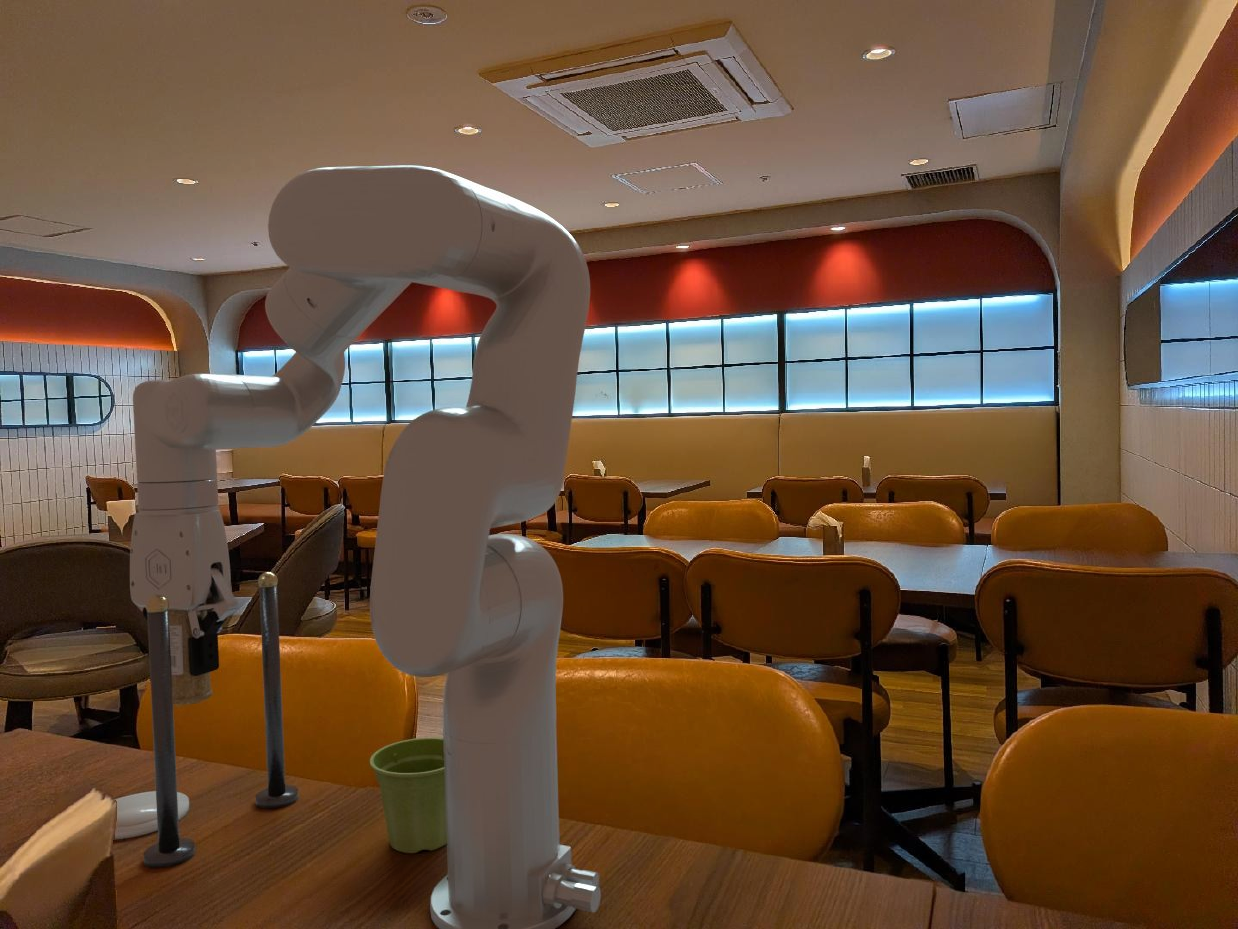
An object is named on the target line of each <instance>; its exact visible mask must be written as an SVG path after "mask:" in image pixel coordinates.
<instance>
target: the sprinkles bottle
mask: <svg viewBox="0 0 1238 929" xmlns="http://www.w3.org/2000/svg"><path fill="white" fill-rule="evenodd" d="M204 604H206V602H205V603H203V604H199V606H200V605H204ZM168 610H169V609H168ZM200 612H201V617H202V620H203V619H204V617H205V616H206V615H207V612H206V610H204V611H200ZM169 630H170V651H171V673H172V694H173V706H186V705H194V704H198V703H201V702H203V701H206V700H208V699H209V698H211V697H212V695H213V690H212V685H211V672H208V673H205V674H202V675H199V676H191V675H190V671H189V651H188V638H191V637H194V636H193V634H192V630H191V625H190V621H189V616H188V611H184V610H169Z"/></svg>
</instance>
